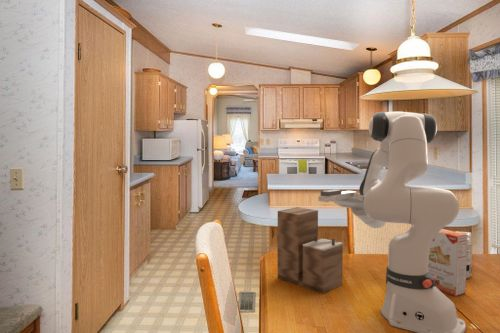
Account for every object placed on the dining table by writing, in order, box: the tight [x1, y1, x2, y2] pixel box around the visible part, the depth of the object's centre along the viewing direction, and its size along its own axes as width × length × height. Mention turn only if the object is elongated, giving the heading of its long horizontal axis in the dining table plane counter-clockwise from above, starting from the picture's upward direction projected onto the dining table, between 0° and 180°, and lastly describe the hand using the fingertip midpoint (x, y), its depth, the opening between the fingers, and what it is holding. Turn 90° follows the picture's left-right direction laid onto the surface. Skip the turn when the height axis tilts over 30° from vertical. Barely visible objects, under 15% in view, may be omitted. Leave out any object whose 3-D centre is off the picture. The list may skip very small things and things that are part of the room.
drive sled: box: [318, 188, 358, 203], centre depth 141 cm, size 4×20×4 cm, turn 134°
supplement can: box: [466, 237, 473, 280], centre depth 145 cm, size 8×8×15 cm
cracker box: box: [428, 228, 468, 297], centre depth 133 cm, size 14×6×21 cm, turn 27°
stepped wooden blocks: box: [277, 206, 344, 294], centre depth 140 cm, size 21×12×26 cm, turn 44°
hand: (347, 193), depth 145 cm, fingers closed on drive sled, 4 cm apart
